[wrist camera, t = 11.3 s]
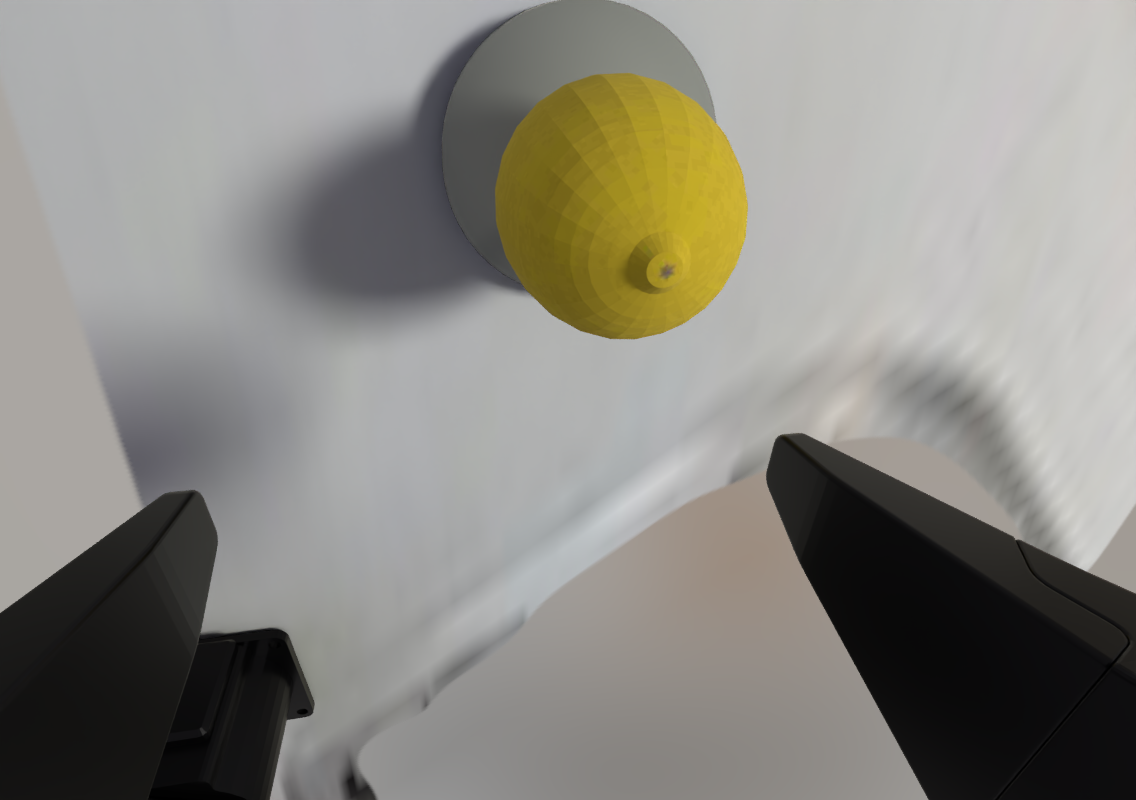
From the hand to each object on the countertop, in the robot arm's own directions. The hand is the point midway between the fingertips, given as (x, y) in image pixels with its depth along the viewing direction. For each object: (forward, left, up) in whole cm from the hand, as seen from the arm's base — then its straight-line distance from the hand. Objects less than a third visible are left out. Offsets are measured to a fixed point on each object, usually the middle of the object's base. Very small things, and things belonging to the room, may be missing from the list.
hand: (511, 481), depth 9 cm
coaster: (+2, -3, -12) cm, 12 cm away
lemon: (+2, -3, -11) cm, 11 cm away
